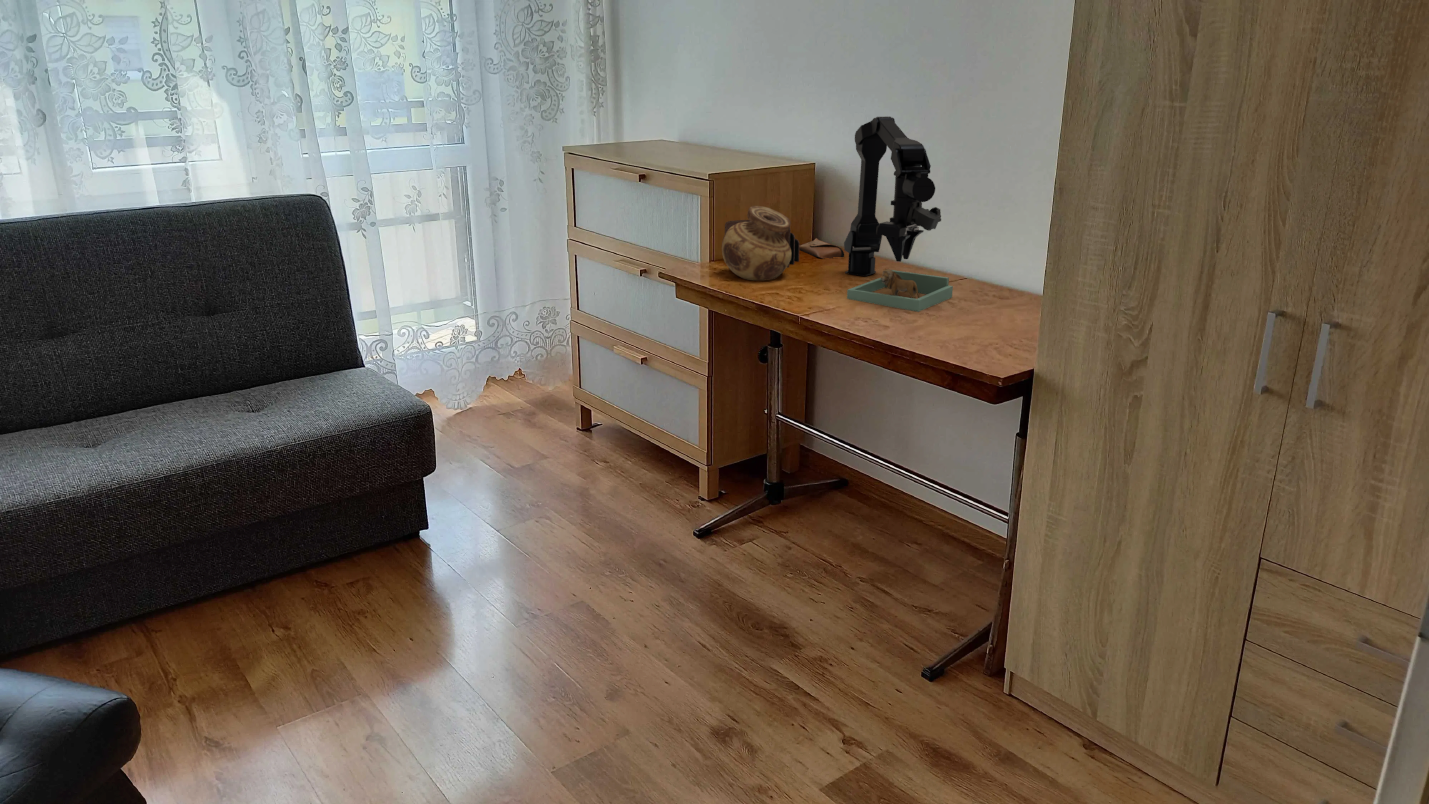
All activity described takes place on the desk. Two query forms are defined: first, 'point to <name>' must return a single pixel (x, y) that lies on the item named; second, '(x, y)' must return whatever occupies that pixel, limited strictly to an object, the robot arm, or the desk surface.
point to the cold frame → (926, 284)
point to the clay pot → (758, 245)
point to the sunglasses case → (821, 249)
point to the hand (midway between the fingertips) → (902, 260)
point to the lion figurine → (898, 283)
